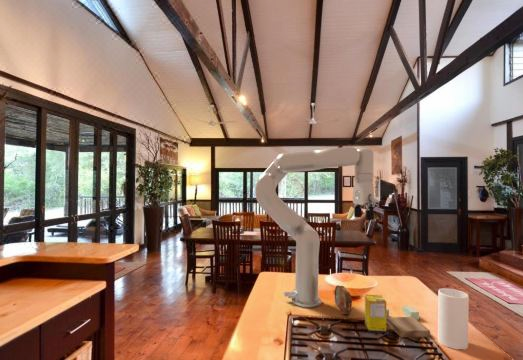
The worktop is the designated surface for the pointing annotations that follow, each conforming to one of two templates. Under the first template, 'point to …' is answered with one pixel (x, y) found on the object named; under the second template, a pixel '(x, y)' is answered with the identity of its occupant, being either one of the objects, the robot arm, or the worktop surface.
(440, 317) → the cup
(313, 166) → the robot arm
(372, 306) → the supplement box
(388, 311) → the slate brick
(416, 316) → the sage brick
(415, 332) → the walnut slab
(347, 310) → the tin
